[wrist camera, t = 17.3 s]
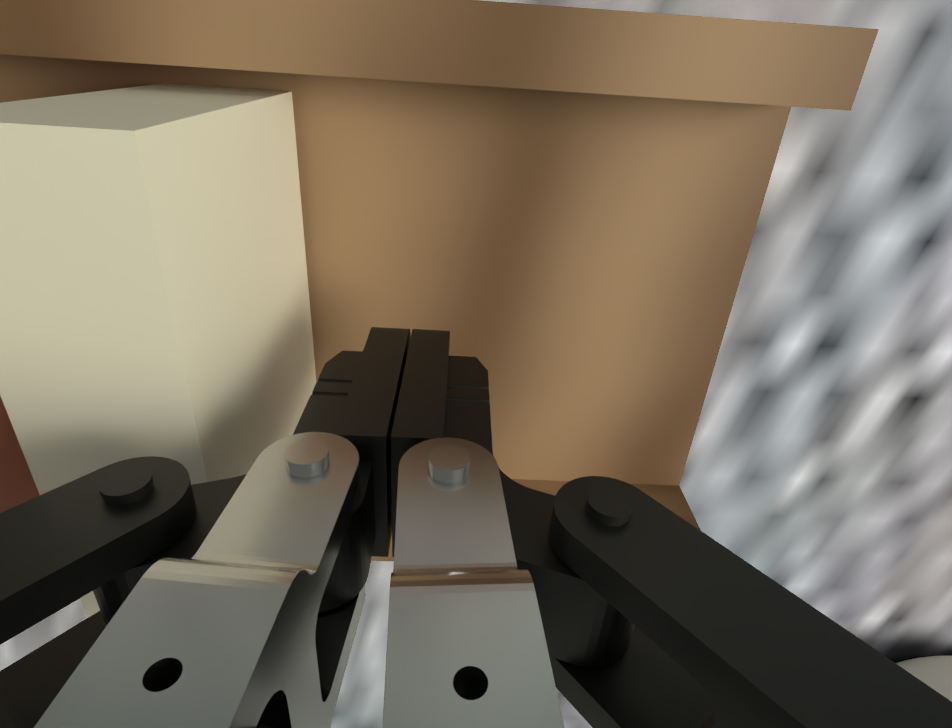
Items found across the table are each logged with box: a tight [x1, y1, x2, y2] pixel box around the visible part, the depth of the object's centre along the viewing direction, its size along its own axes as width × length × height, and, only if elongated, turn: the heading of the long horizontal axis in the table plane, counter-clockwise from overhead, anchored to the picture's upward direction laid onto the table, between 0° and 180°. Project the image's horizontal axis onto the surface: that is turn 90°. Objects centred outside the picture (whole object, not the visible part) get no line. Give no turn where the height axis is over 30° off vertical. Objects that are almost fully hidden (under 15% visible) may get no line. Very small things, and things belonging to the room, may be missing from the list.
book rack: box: [0, 0, 878, 561], centre depth 11 cm, size 28×12×7 cm, turn 87°
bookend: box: [0, 83, 316, 618], centre depth 11 cm, size 2×9×6 cm, turn 176°
